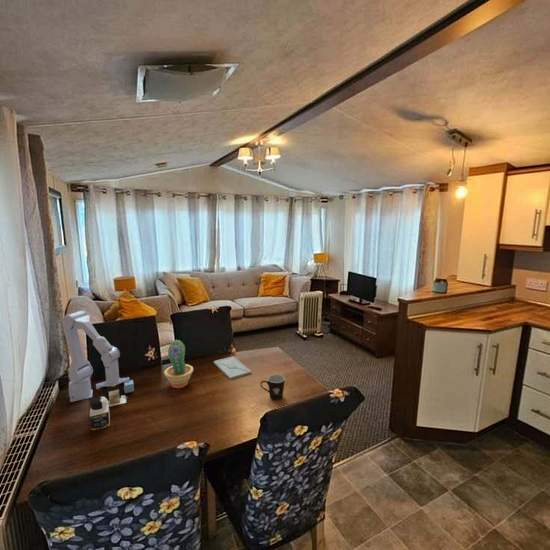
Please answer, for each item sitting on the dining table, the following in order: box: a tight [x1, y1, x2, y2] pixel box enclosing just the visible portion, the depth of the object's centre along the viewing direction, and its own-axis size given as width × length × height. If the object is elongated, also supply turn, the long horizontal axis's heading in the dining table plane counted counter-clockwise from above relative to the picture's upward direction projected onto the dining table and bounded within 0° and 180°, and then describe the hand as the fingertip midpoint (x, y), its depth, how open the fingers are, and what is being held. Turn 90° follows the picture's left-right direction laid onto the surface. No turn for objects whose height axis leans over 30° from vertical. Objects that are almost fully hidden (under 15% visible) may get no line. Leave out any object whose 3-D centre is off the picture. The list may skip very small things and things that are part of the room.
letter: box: [106, 394, 128, 408], centre depth 159 cm, size 11×8×1 cm
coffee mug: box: [260, 374, 286, 401], centre depth 163 cm, size 12×9×10 cm
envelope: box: [213, 355, 252, 380], centre depth 194 cm, size 24×2×14 cm
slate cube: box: [123, 379, 135, 394], centre depth 169 cm, size 4×4×4 cm
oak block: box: [108, 389, 120, 404], centre depth 158 cm, size 4×4×4 cm
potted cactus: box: [163, 339, 194, 389], centre depth 174 cm, size 15×15×25 cm
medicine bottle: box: [89, 396, 111, 431], centre depth 140 cm, size 7×7×12 cm
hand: (114, 398), depth 159 cm, fingers closed on oak block, 4 cm apart
